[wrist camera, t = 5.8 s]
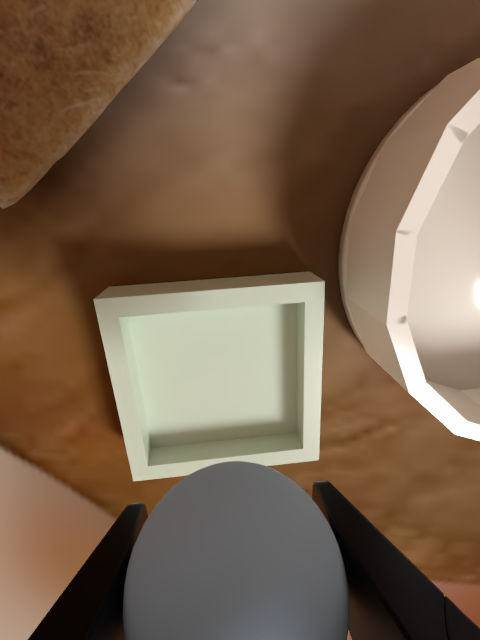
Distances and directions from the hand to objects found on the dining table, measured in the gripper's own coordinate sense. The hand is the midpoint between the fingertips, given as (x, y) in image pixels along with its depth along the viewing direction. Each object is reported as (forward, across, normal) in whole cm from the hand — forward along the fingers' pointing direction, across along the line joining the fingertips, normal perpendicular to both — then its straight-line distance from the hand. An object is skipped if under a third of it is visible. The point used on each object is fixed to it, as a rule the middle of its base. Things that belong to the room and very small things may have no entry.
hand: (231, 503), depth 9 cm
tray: (+8, 0, 0) cm, 8 cm away
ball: (-2, 0, 0) cm, 2 cm away
